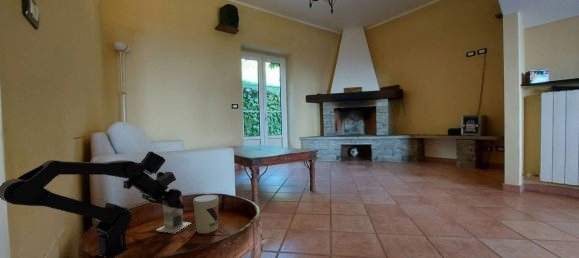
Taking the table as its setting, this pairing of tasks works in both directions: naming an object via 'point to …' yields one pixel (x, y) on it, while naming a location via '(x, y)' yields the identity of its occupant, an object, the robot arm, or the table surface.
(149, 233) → the table surface
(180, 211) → the letter block
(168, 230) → the ceramic tile
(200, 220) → the coffee cup
